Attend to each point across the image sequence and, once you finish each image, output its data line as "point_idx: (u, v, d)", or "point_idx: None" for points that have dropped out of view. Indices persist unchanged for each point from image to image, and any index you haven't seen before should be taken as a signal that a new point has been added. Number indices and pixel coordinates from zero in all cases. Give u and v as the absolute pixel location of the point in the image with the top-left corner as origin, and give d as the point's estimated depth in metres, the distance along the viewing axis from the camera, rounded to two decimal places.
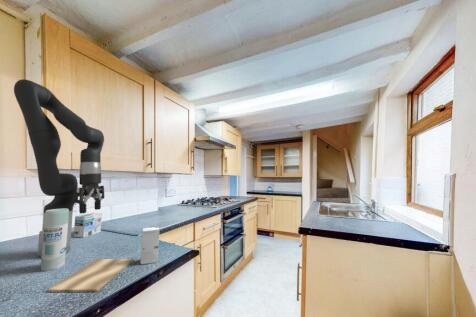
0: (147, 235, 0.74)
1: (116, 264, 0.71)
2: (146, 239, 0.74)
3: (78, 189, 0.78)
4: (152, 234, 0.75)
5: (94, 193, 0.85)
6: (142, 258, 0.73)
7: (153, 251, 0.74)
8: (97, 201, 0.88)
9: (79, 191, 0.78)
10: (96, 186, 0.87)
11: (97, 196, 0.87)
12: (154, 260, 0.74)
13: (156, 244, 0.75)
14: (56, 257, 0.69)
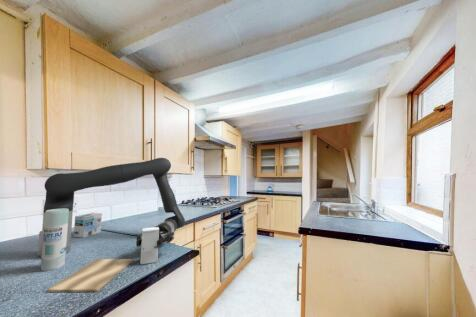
0: (147, 235, 0.74)
1: (116, 264, 0.71)
2: (146, 239, 0.74)
3: (173, 236, 0.84)
4: (152, 234, 0.75)
5: None
6: (142, 258, 0.73)
7: (152, 251, 0.74)
8: None
9: (173, 237, 0.83)
10: None
11: None
12: (154, 260, 0.74)
13: (156, 244, 0.75)
14: (56, 257, 0.69)
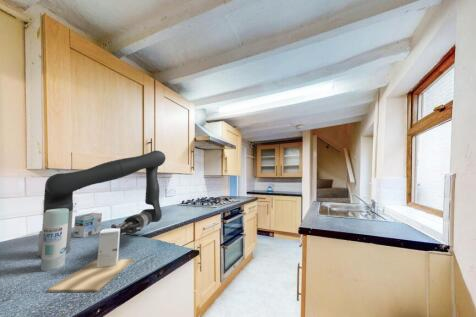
0: (105, 237, 0.69)
1: (116, 264, 0.71)
2: (103, 241, 0.69)
3: (139, 228, 0.83)
4: (110, 236, 0.70)
5: None
6: (99, 261, 0.68)
7: (111, 253, 0.70)
8: None
9: (137, 229, 0.82)
10: None
11: None
12: (112, 263, 0.70)
13: (115, 246, 0.71)
14: (56, 257, 0.69)
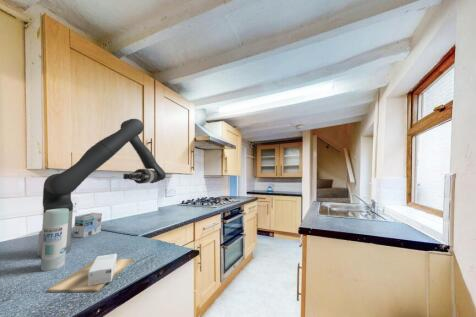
0: None
1: (116, 264, 0.71)
2: None
3: (147, 176, 0.96)
4: None
5: None
6: None
7: None
8: None
9: (145, 177, 0.96)
10: None
11: None
12: None
13: None
14: (56, 257, 0.69)
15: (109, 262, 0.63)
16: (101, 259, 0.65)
